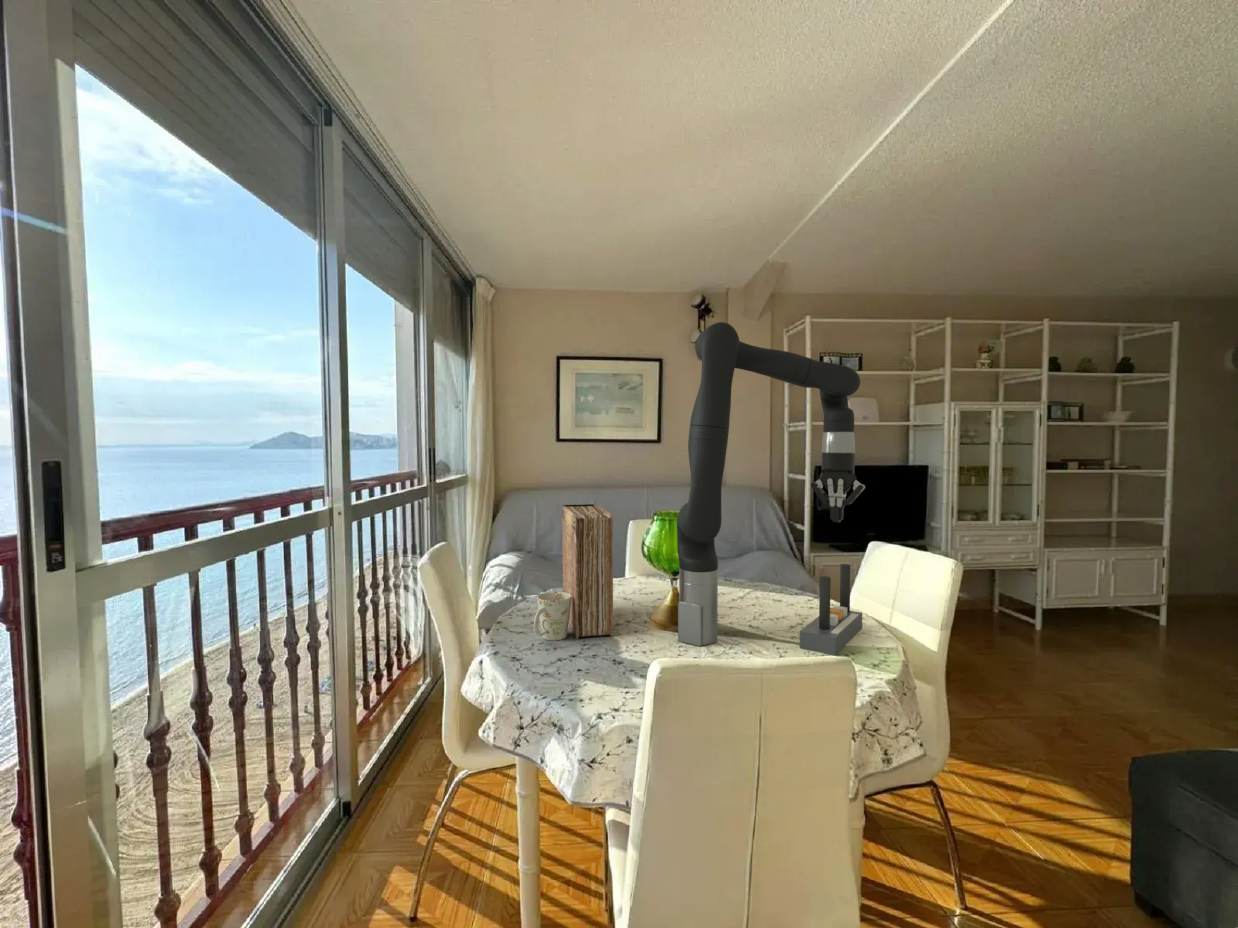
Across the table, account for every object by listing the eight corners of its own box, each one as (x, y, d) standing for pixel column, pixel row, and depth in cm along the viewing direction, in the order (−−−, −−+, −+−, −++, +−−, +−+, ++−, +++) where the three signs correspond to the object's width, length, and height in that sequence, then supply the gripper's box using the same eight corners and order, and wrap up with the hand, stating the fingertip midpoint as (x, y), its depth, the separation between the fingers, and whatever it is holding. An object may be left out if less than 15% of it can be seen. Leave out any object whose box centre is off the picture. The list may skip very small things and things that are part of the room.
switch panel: (835, 655, 133) (835, 628, 132) (799, 648, 137) (799, 622, 137) (862, 628, 152) (862, 604, 151) (830, 622, 156) (830, 599, 156)
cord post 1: (828, 630, 137) (828, 579, 137) (817, 628, 139) (818, 577, 138) (831, 627, 139) (831, 577, 139) (820, 626, 141) (821, 575, 140)
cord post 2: (848, 613, 151) (848, 566, 151) (838, 611, 153) (839, 565, 152) (850, 610, 153) (851, 564, 153) (841, 609, 154) (841, 563, 154)
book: (613, 637, 145) (613, 515, 144) (575, 640, 143) (575, 516, 142) (594, 608, 170) (594, 503, 168) (562, 610, 168) (561, 504, 166)
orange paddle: (839, 620, 144) (840, 612, 144) (827, 618, 146) (827, 610, 146) (842, 618, 146) (842, 610, 146) (830, 615, 148) (830, 607, 148)
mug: (577, 633, 148) (577, 594, 147) (551, 650, 136) (550, 607, 136) (549, 629, 151) (548, 590, 151) (520, 644, 140) (520, 602, 139)
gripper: (805, 450, 145) (804, 521, 146) (862, 451, 137) (861, 526, 138) (815, 450, 151) (814, 518, 152) (870, 451, 143) (869, 522, 144)
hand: (836, 521), depth 145 cm, fingers closed
